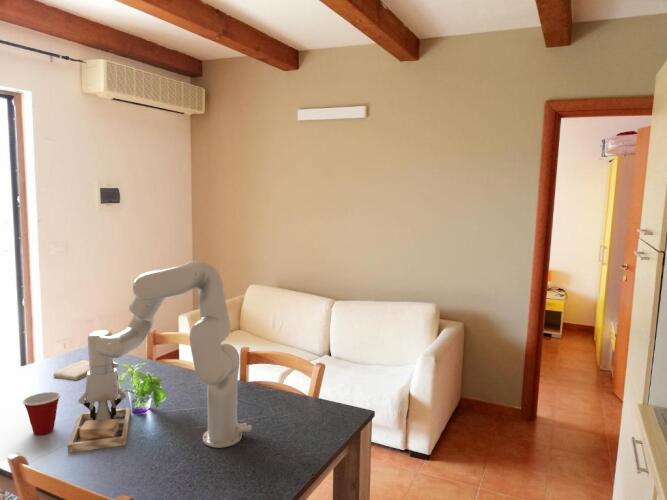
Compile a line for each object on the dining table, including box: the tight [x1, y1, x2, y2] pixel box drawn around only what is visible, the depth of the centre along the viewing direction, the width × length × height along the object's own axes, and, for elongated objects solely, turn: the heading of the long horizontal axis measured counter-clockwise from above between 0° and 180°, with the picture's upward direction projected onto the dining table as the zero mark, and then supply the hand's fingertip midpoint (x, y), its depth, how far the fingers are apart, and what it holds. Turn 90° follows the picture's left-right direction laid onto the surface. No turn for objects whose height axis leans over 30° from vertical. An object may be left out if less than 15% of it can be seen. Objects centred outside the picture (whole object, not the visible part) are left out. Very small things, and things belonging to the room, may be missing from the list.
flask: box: [95, 401, 111, 420], centre depth 169 cm, size 7×7×10 cm
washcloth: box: [53, 359, 89, 381], centre depth 215 cm, size 12×18×3 cm, turn 166°
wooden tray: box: [67, 407, 131, 453], centre depth 165 cm, size 16×22×2 cm
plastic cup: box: [22, 391, 61, 436], centre depth 164 cm, size 11×11×12 cm
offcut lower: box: [79, 430, 119, 442], centre depth 159 cm, size 10×6×3 cm, turn 106°
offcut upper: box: [79, 418, 119, 440], centre depth 159 cm, size 10×6×3 cm, turn 100°
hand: (103, 418), depth 169 cm, fingers closed on flask, 5 cm apart
